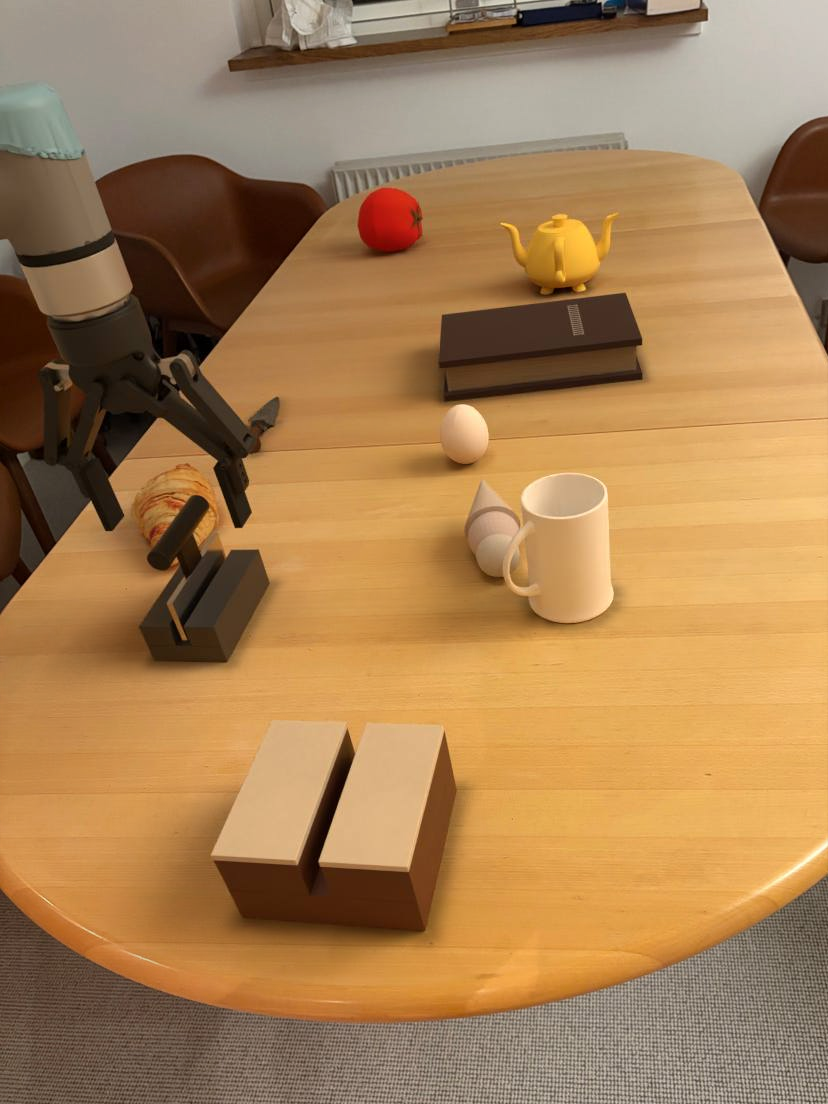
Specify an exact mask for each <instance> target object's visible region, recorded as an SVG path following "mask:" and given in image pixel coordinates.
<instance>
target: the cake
mask: <svg viewBox="0 0 828 1104" xmlns="http://www.w3.org/2000/svg"><path fill="white" fill-rule="evenodd" d="M452 764H453V763H452V760H451V755H450V750H449V744H448V740H447V735H446V731H445V726H444V724H430V723H429V724H428V723H427V724H426V723H424V724H423V723H393V722H392V723H391V722H389V723H387V722H365V725H364V728H363V731H362V734H361V736H360V739H359V742H358V745H357V748H356V751H355V747H354V744H353V741H352V738H351V735H350V731H349V727H348V723H347V721H329V720H328V721H326V720H323V721H322V720H294V719H293V720H291V719H289V720H287V719H271V721H270V722H269V725H268V727H267V729H266V732H265V734H264V736H263V738H262V741H261V742H260V744H259V747H258V749H257V752H256V754H255V756H254V758H253V760H252V763H251V764H250V767H249V769H248V772H247V773H246V776H245V777H244V780H243V783H242V785H241V787H240V788H239V791H238V793H237V796H236V798H235V800H234V802H233V805H232V807H231V809H230V811H229V814H228V816H227V818H226V820H225V822H224V825H223V827H222V829H221V831H220V834H219V835H218V838H217V840H216V841H215V843H214V847H213V848H212V851H211V853H210V857H211V859H212V861H213V862H214V864H215V866H216V868H217V871H218V872H219V874H220V876H221V878H222V881H223V882H224V885H225V886H226V888H227V889H228V892H229V895H230V896H231V898H232V900H233V902H234V904H235V906H236V908H237V910H238V912H239V913H240V916H241V917H242V918H246V919H261V920H273V921H285V922H286V921H287V922H299V923H300V922H301V923H313V924H328V925H341V926H353V927H367V928H379V929H380V928H382V929H395V930H408V931H421V932H425V931H426V929H427V926H428V922H429V916H430V912H431V907H432V902H433V898H434V894H435V889H436V885H437V882H438V881H437V880H438V875H439V871H440V867H441V863H442V859H443V858H442V857H443V853H444V850H445V844H446V839H447V836H448V831H449V827H450V822H451V818H452V814H453V808H454V805H455V799H456V795H457V790H458V789H457V786H456V785H457V784H456V780H455V779H456V778H455V775H454V770H453V765H452Z"/></svg>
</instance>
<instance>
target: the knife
mask: <svg viewBox="0 0 828 1104" xmlns="http://www.w3.org/2000/svg"><path fill="white" fill-rule="evenodd" d="M279 409H280V397H279V396H275V397H274V398H272V399H270V400H269V401H267V402H266V403H265V404H264V405H262V407H261V408H259V410H257V411H256V412H255V413H254V414H253V415H252V416H250V417H249V419H247V422H250V424H249V426H248V427H250V428H249V429H250V431H251V432H252V433H253V434H254V435H255V437H256V438H257V443H256V444H255V446H254V447H253V449H252V450H251V452H250V453H249V454H254V453H258V452H260V450H261V447H262V443H261V439H260V438H259V436H260V435H261V434H262V433H263V431H267V430H268V428H269V427H271V426H272V427H273V426H275V424H276V423H275V422H276V418H277V415H278V411H279Z"/></svg>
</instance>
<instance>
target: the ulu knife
mask: <svg viewBox="0 0 828 1104" xmlns="http://www.w3.org/2000/svg"><path fill="white" fill-rule="evenodd" d="M208 510H209V503H208V501H207V500H206V499H205V498H204V497H202V496H200V495H193V496H191V497H190V498H189V499H188V500H187V502H186V503H185V505H184V506H183V507H182V509H181V510H180V511H179V513H178V514H177V516H176V517H175V518H174V520H173V521H172V522H171V524H170V525H169V526H168V528H167V529H166V531H165V532H164V533H163V535H162V536H161V537H160V539H159V540H158V542H157V543H156V544H155V546H154V547H153V548H152V547H151V550H150V551H149V552H148V554H147V555H146V561H147V563H148V564H149V565H150V566H151V568H152V569H155V570H157V571H161V572H164V571H167V570H168V569H170V568H171V567H172V566H171V564H172V563H173V561H174V560H175V558H176V557H177V559H178V562H179V563H178V564H179V566H180V567H181V569H182V572H183V574H184V575H185V576H184V578H183V579H182V581H181V582H180V584H179V585H178V587H177V588H176V590H175V591H174V593H173V594H172V596H171V597H170V599H169V600H168V602H167V606H168V608H169V611H170V613H171V615H172V618H173V620H174V622H175V625H176V627H177V629H178V631H179V634H180V636H181V638H182V641H183V643H189V639H188V636H187V634H186V632H185V629H184V625H185V624H186V622H187V620H188V619H189V617H190V616H191V614H192V612H193V611H194V609H195V608H196V606H197V604H198V603H199V601H200V599H201V598H202V596H203V595H204V593H205V591H206V590H207V588H208V586H209V585H210V583H211V582H212V580H213V578H214V577H215V575H216V574H217V572H218V570H219V569H220V567H221V565H222V564H223V562H224V561H225V559H226V557H227V554H226V552H225V549H224V546H223V544H222V540H221V539H220V535H219V533H218V532H213V533H211V535H210V537H209V538H208V540H207V541H206V543H205V544H204V545H203V547H202V549H200V547H199V548H198V545H197V542H196V540H195V537H194V535H193V532H194V531H195V529H196V528H197V526H198V525H199V523H200V522H201V521H202V519H203V518H204V516H205V515H206V513H207V512H208ZM200 550H201V552H200Z"/></svg>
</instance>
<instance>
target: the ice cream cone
mask: <svg viewBox="0 0 828 1104" xmlns="http://www.w3.org/2000/svg"><path fill="white" fill-rule="evenodd" d="M521 525H522V524H521V519H520V517H519V516H518V514H517V513H516V512H515V511H514V510H513V508H511V507H510V506H509V504H507V503H506V502H505V500H503V499H502V497H501V496H500V495H498V493H497V492H496V491H495V490H494V489H493V488H492V487H491V486H490V485H489V484H488V483H487V482H486V480H484V479H483V478H481V479H480V483H479V485H478V488H477V490H476V493H475V496H474V499H473V502H472V505H471V507H470V510H469V513H468V515H467V518H466V522H465V524H464V526H463V527H464V528H463V533H464V537H465V539H466V540H467V543H468V546H469V549H470V550H471V552H472V554H473V555H474V556H475V559H476V563H477V565H478V567H479V568H480V570H481V571H482V572H483V573H485V574H486V575H488V576H490V577H493V578H504V576H503V560H504V556H505V552H506V550H507V547H508V545H509V543H510V542H511V540H512V539H513V537H514V536H515V534H516V533H517V532H518V531H519V530H520V529H521ZM520 544H521V543H520ZM520 544H519V545H518V547H517V548H516V550H515V552H514V554H513V556H512V559H511V562H510V569H509V573H510V574H512V573H513V572H514V571H515V570H516V569H517V567H518V565H519V563H520V559H521V558H520V557H521V551H520V548H519V547H520Z"/></svg>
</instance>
